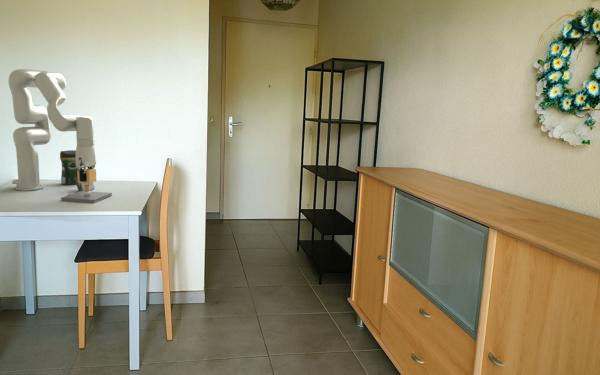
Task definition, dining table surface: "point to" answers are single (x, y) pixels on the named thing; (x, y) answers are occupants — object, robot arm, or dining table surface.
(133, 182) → the dining table surface
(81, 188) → the electrical switch
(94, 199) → the plate
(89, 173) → the tan cardboard cube
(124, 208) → the dining table surface
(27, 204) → the dining table surface
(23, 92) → the robot arm
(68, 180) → the coffee jar
